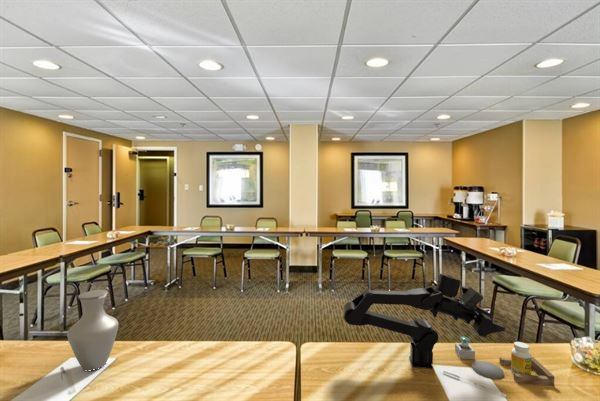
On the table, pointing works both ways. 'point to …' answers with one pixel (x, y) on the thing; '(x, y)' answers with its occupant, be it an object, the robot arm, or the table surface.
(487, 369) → the rubber pad
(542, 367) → the housing rails
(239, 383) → the table surface
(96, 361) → the vase
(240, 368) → the table surface
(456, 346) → the plunger block
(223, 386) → the table surface
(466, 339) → the plunger
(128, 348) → the table surface
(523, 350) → the supplement bottle
